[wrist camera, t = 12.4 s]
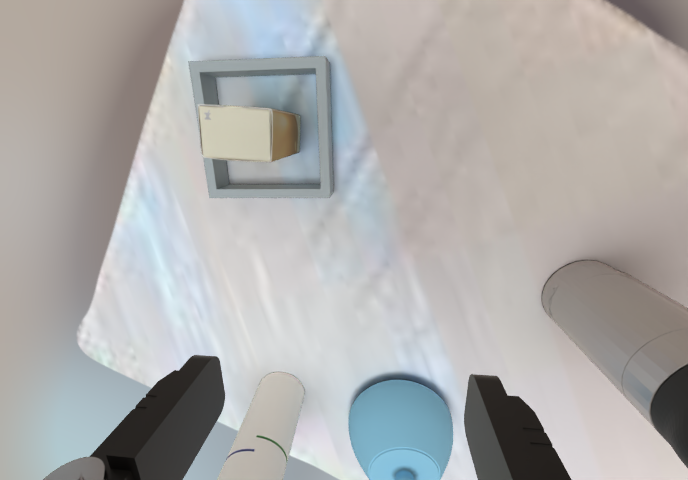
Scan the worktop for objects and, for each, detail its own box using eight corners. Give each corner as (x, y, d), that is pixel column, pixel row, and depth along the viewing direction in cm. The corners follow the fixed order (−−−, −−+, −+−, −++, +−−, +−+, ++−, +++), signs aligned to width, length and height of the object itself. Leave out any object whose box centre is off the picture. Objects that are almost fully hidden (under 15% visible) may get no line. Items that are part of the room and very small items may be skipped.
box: (329, 62, 35) (325, 56, 32) (333, 192, 39) (330, 197, 36) (205, 67, 36) (188, 61, 33) (222, 192, 41) (209, 198, 37)
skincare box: (249, 149, 39) (197, 158, 27) (248, 110, 37) (192, 102, 26) (302, 153, 38) (272, 164, 27) (303, 114, 37) (271, 107, 25)
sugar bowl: (456, 377, 47) (481, 453, 36) (439, 452, 52) (457, 539, 41) (353, 366, 48) (347, 437, 37) (346, 441, 53) (339, 523, 42)
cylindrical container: (254, 373, 50) (147, 594, 26) (300, 370, 49) (232, 598, 25) (264, 409, 52) (174, 643, 28) (308, 407, 51) (252, 648, 27)
